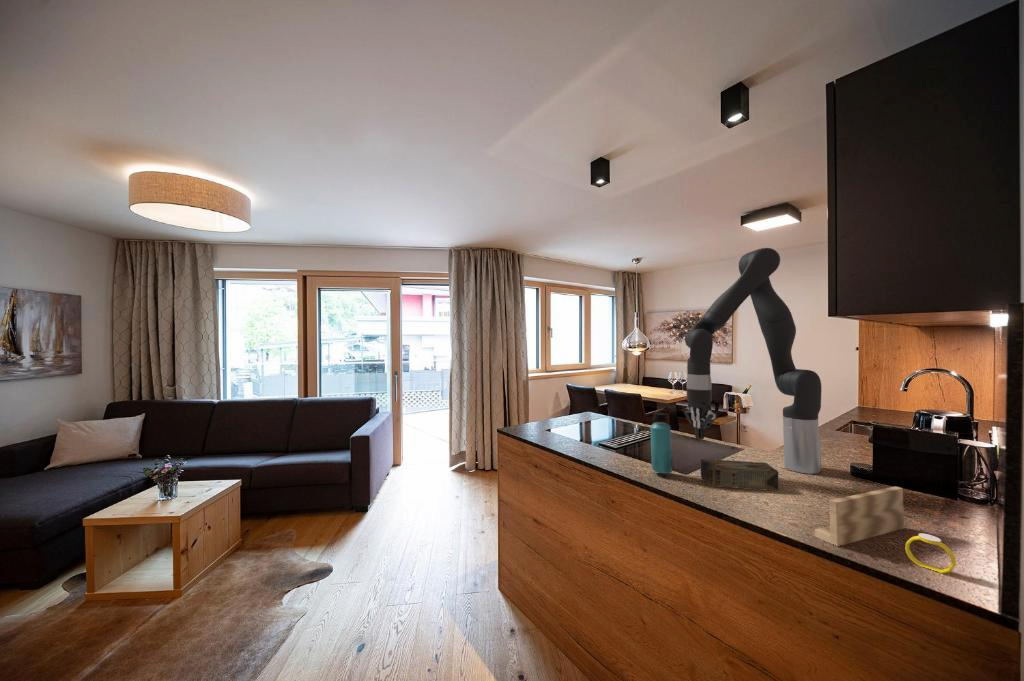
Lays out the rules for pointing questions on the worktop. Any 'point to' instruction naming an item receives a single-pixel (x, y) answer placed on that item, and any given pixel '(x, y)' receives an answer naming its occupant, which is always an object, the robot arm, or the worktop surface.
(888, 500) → the stand
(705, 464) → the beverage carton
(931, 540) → the watch
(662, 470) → the beverage bottle
